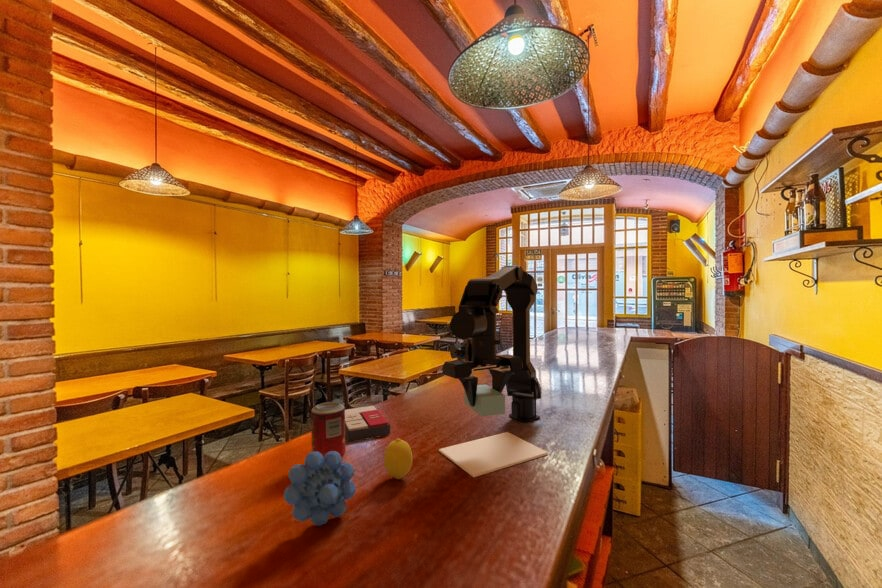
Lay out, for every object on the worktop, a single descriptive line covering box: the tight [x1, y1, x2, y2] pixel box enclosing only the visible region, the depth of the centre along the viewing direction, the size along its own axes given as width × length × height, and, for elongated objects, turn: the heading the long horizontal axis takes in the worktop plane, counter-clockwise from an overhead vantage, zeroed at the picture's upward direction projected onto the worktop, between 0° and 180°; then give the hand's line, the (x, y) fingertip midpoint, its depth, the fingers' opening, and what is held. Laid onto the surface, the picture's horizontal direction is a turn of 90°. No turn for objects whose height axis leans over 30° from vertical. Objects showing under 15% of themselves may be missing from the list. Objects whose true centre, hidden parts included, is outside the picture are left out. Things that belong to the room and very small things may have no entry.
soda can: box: [310, 401, 346, 459], centre depth 83 cm, size 7×7×12 cm
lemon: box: [383, 437, 414, 480], centre depth 74 cm, size 6×6×8 cm
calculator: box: [345, 405, 391, 443], centre depth 102 cm, size 11×4×15 cm
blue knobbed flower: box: [283, 451, 357, 527], centre depth 60 cm, size 12×7×12 cm, turn 130°
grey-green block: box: [464, 383, 506, 417], centre depth 85 cm, size 10×6×4 cm, turn 17°
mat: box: [438, 431, 549, 478], centre depth 86 cm, size 20×14×1 cm
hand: (483, 403), depth 85 cm, fingers closed on grey-green block, 6 cm apart
